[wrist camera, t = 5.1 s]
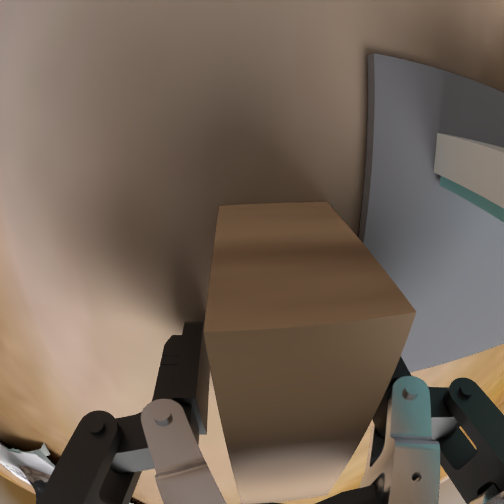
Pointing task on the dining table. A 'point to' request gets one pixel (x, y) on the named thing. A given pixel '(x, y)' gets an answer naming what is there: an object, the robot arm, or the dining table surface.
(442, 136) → the tile
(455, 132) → the mat
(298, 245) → the brown rectangular block
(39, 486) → the head bust
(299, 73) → the dining table surface
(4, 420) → the dining table surface
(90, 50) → the dining table surface
